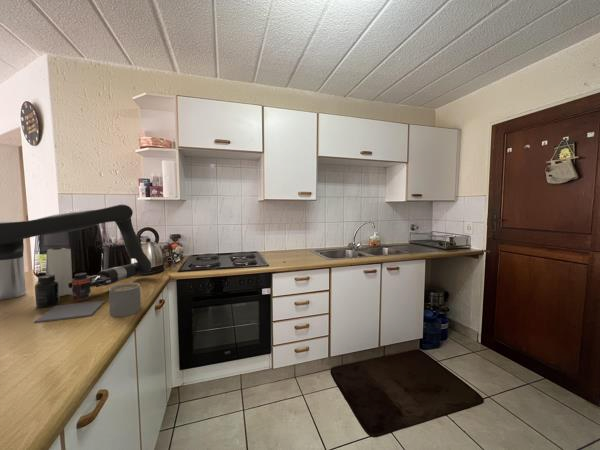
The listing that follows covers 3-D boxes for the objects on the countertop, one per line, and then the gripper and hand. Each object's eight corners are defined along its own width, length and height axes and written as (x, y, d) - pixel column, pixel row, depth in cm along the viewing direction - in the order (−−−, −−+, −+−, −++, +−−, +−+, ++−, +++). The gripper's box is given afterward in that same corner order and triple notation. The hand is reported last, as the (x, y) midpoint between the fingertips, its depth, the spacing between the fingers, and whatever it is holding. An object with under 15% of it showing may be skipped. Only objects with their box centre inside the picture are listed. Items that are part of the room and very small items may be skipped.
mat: (34, 322, 86) (34, 321, 86) (55, 307, 99) (55, 305, 98) (91, 315, 92) (91, 314, 92) (104, 302, 105) (104, 300, 105)
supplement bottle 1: (63, 303, 103) (62, 275, 102) (42, 309, 96) (40, 279, 95) (53, 300, 105) (52, 273, 104) (32, 306, 99) (30, 277, 98)
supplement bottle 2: (94, 296, 110) (93, 272, 109) (81, 302, 104) (80, 276, 103) (82, 296, 111) (81, 271, 110) (68, 301, 105) (67, 275, 104)
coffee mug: (135, 315, 93) (134, 289, 92) (104, 318, 90) (103, 292, 89) (146, 302, 106) (146, 279, 105) (120, 304, 103) (119, 280, 102)
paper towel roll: (47, 295, 110) (44, 249, 108) (64, 291, 115) (61, 247, 114) (56, 298, 107) (53, 250, 105) (72, 294, 113) (70, 248, 111)
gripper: (100, 267, 122) (61, 276, 106) (124, 269, 119) (87, 279, 102) (101, 281, 123) (62, 293, 106) (125, 284, 119) (88, 296, 103)
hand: (75, 286), depth 104 cm, fingers closed on supplement bottle 2, 6 cm apart
